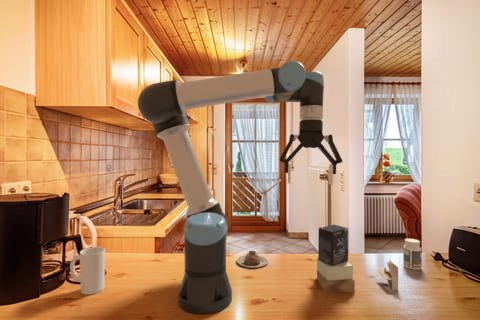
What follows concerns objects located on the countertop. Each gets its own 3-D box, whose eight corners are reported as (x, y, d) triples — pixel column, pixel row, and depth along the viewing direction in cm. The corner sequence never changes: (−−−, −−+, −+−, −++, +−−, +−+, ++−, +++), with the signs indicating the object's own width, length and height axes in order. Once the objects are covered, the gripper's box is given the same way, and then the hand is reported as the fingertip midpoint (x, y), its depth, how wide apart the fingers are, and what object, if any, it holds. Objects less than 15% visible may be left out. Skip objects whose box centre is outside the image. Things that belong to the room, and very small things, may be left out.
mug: (109, 284, 85) (109, 246, 85) (98, 295, 78) (98, 254, 78) (77, 284, 85) (77, 246, 85) (63, 295, 78) (63, 254, 78)
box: (332, 266, 80) (332, 231, 80) (317, 260, 85) (317, 227, 85) (349, 261, 85) (348, 227, 84) (333, 255, 89) (333, 223, 89)
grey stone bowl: (230, 263, 103) (230, 251, 103) (252, 255, 112) (252, 244, 112) (252, 273, 95) (252, 260, 95) (274, 263, 103) (274, 251, 103)
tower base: (324, 292, 81) (324, 279, 81) (316, 279, 90) (316, 267, 90) (354, 293, 80) (354, 280, 80) (344, 279, 89) (344, 267, 89)
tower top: (327, 280, 80) (327, 267, 80) (317, 269, 88) (317, 257, 88) (352, 279, 81) (352, 265, 81) (340, 268, 89) (340, 256, 89)
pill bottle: (421, 266, 100) (421, 239, 100) (421, 271, 95) (422, 243, 95) (403, 262, 103) (403, 237, 103) (403, 268, 98) (403, 241, 98)
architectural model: (386, 291, 82) (386, 266, 82) (377, 280, 89) (377, 258, 89) (398, 291, 82) (398, 267, 82) (388, 281, 89) (388, 258, 89)
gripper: (273, 118, 87) (272, 183, 88) (353, 118, 84) (351, 186, 85) (273, 121, 95) (272, 181, 95) (346, 121, 92) (345, 183, 92)
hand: (309, 183), depth 90 cm, fingers open, 13 cm apart
